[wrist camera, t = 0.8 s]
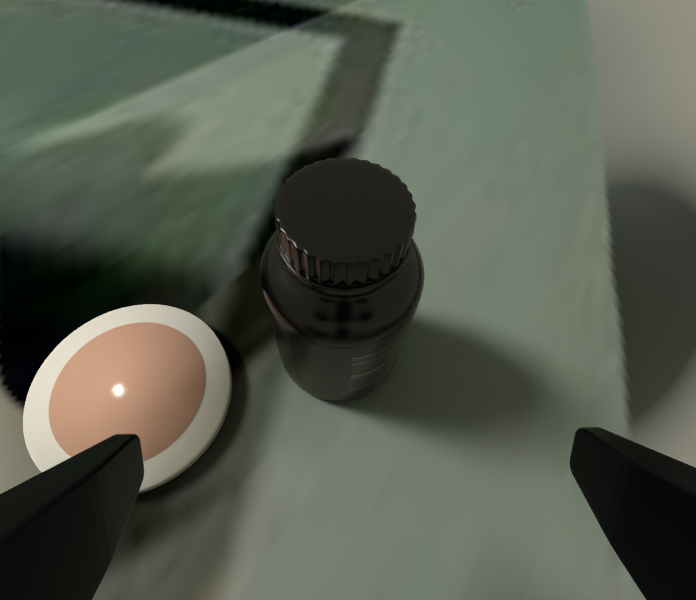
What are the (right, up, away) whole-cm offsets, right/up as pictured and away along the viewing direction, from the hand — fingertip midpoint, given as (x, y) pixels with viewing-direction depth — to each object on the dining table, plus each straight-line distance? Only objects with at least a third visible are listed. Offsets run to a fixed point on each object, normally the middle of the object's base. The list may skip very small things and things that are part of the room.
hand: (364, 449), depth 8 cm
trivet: (-12, -2, +13) cm, 18 cm away
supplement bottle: (-1, 0, +16) cm, 16 cm away
